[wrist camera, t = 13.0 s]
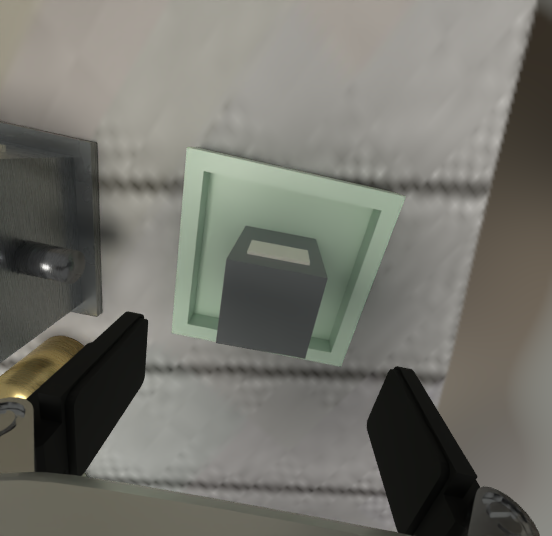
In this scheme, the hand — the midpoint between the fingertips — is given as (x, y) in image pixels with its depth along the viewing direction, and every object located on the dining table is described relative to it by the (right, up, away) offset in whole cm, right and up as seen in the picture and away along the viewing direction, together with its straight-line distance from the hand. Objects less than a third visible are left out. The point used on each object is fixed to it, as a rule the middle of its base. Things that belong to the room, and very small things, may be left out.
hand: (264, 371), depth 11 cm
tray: (0, +4, +9) cm, 10 cm away
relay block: (0, +4, +8) cm, 9 cm away
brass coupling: (-17, -3, +13) cm, 21 cm away
